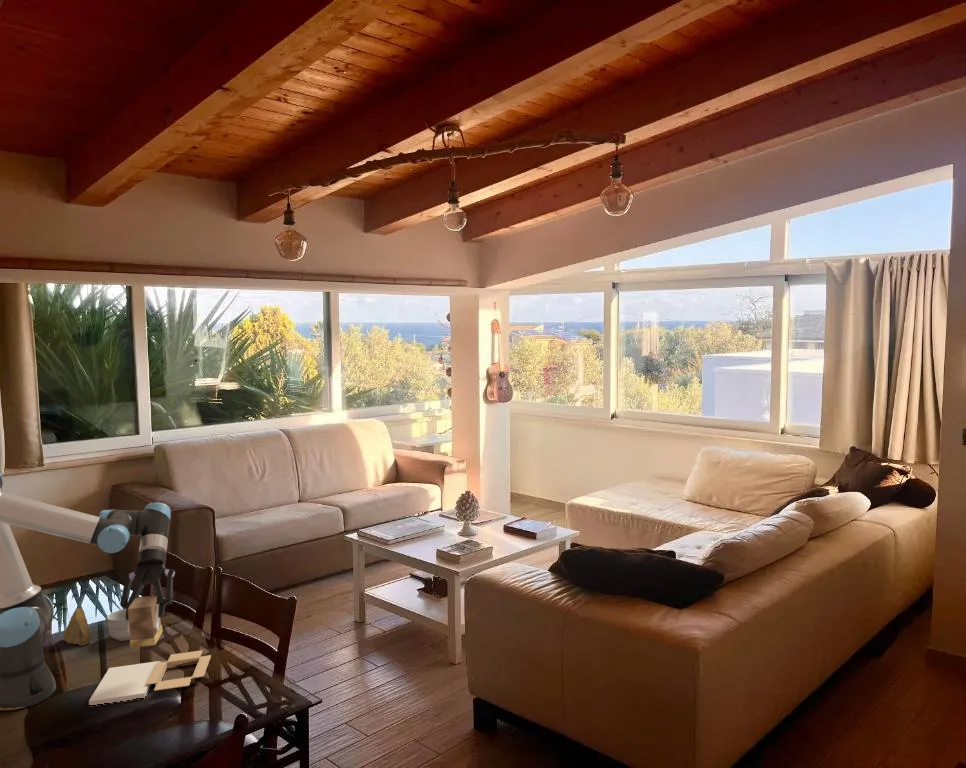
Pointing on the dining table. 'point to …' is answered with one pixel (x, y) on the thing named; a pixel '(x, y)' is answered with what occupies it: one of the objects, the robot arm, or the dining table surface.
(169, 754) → the dining table surface
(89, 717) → the dining table surface
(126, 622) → the teacup
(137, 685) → the board
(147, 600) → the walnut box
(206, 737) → the dining table surface
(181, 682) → the carton
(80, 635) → the rock
